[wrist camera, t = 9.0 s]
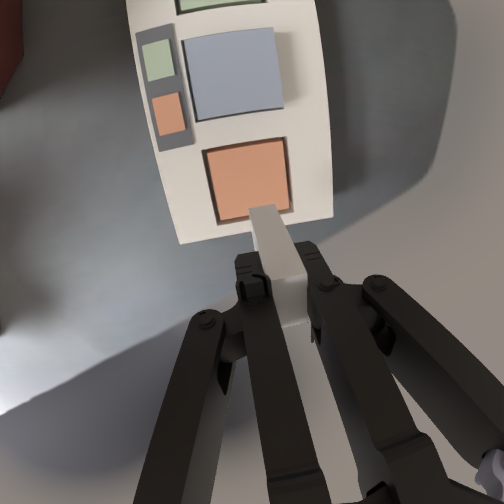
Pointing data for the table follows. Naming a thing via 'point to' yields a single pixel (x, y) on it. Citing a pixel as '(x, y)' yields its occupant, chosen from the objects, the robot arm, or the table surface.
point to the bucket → (10, 39)
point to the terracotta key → (248, 176)
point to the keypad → (239, 124)
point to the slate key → (234, 72)
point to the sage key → (211, 4)
